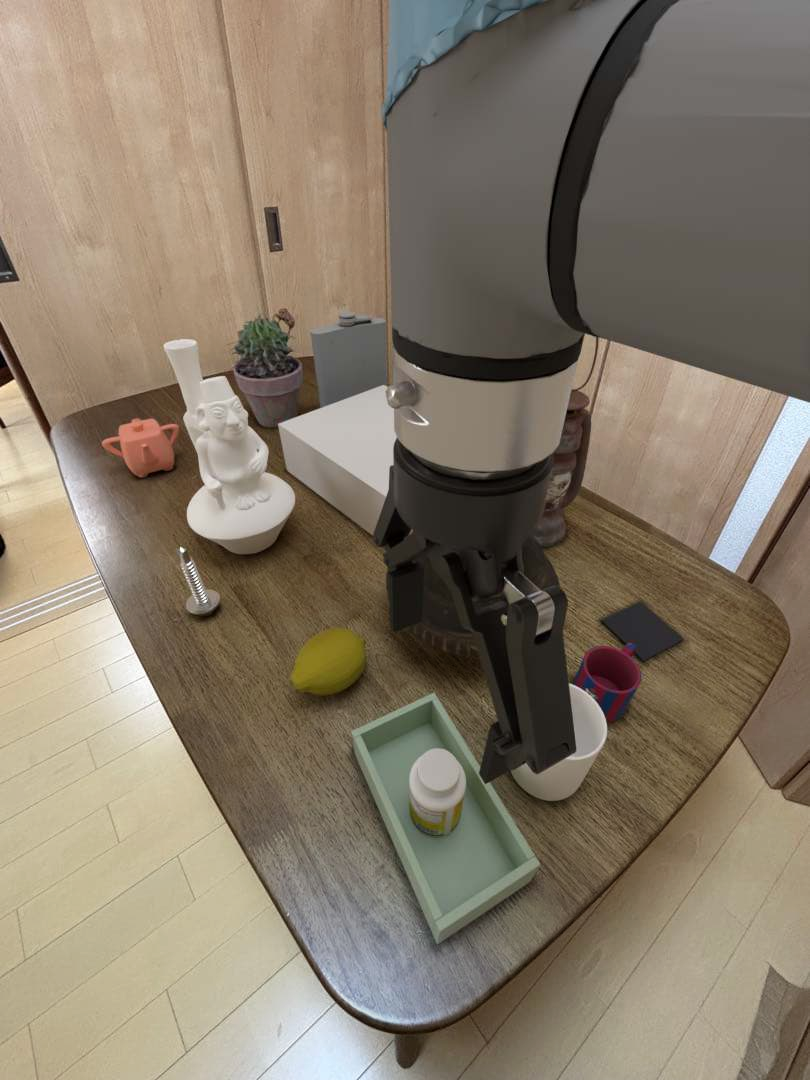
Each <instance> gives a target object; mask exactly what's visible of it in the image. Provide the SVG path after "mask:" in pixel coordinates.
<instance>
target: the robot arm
mask: <svg viewBox="0 0 810 1080" xmlns="http://www.w3.org/2000/svg"><path fill="white" fill-rule="evenodd" d="M387 29H388V34H387V62H386V63H387V64H386V65H387V66H386V70H387V71H386V90H385V102H384V103H382V110H381V116H382V125H383V126H384V130H385V132H386V147H387V149H386V151H387V152H386V154H387V188H388V189H387V192H388V196H387V197H388V230H389V234H388V235H389V236H388V237H389V269H390V270H389V272H390V273H389V274H390V308H391V309H390V311H391V313H390V314H391V316H390V317H391V339H392V341H391V342H392V384H391V385H387V387H388V388H387V390H386V398H387V403H388V405H389V406H390V407H392V408H394V431H395V433H396V436H397V438H396V440H395V443H394V447H393V465H392V466H390V469H389V490H388V493H387V496H386V499H385V502H384V504H383V507H382V510H381V513H380V516H379V519H378V522H377V525H376V528H375V530H374V533H373V535H372V540H373V543H374V544H375V546H376V547H377V548H383V549H384V551H385V552H384V553H383V554H382V556H383V563H384V565H385V566H386V568H387V569H388V568H389V572H388V582H389V599H388V610H389V611H388V612H389V627H390V629H391V631H392V633H397V632H399V631H402V630H404V629H406V628H407V627H409V626H412V625H414V624H417V623H419V622H422V612H423V587H424V566H423V565H422V564H421V562H420V561H419V562H416V563H413V564H412V560H414V559H417V558H420V557H423V556H425V555H426V554H428V557H429V559H430V561H431V567H432V568H433V569H434V571H435V572H436V573H437V575H439V576H440V577H441V578H442V579H443V581H444V583H445V584H446V585H447V586H448V588H449V589H450V591H451V593H452V597H453V600H454V603H455V607H456V610H457V613H458V617H459V620H460V623H461V625H462V627H464V628H465V629H469V630H471V632H472V634H473V637H474V641H475V644H476V647H477V651H478V654H479V658H478V659H480V664H481V668H482V671H483V674H484V677H485V680H486V684H487V687H488V691H489V695H490V697H491V701H492V705H493V708H494V711H495V715H496V718H497V721H495V722H493V723H492V724H490V726H489V731H488V734H487V738H486V742H485V746H484V751H483V755H482V759H481V763H480V771H479V775H480V776H481V778H482V780H483V781H484V783H485V784H487V783H489V782H490V783H491V782H492V781H494V780H496V779H498V778H499V777H501V776H503V775H504V774H507V773H508V772H511V771H512V770H515V769H516V768H518V767H520V766H522V765H524V764H525V763H527V765H528V767H529V768H530V769H531V770H532V772H534V773H535V774H540V773H541V772H543V771H545V770H546V769H548V768H550V767H552V766H553V765H555V764H557V763H558V762H560V761H562V760H564V759H565V758H567V757H569V756H571V755H572V754H574V753H575V752H576V741H575V732H574V724H573V715H572V707H571V698H570V690H569V683H570V682H569V674H568V666H567V665H568V664H567V657H566V656H567V655H566V648H565V641H564V640H565V639H564V626H565V622H566V617H567V611H568V607H569V600H568V596H567V594H566V592H565V590H564V589H563V588H560V587H561V586H560V587H559V586H556V585H553V586H551V587H549V588H546V589H544V590H540V589H539V588H538V587H537V586H535V585H534V584H533V583H532V582H531V581H530V580H529V579H528V578H526V577H525V576H524V575H523V574H524V567H523V561H522V546H523V544H524V542H525V540H526V539H527V537H528V536H529V534H530V533H531V531H532V530H533V528H534V527H535V526H536V524H537V522H538V521H539V519H540V517H541V514H542V511H543V507H544V502H545V498H546V494H547V493H548V491H547V490H548V489H549V486H550V485H549V483H550V481H551V480H550V479H551V478H552V476H551V474H552V469H553V465H554V453H553V452H554V451H555V449H556V448H557V447H558V445H559V443H560V438H561V434H562V429H563V425H564V421H565V416H566V412H567V407H568V403H569V398H570V394H571V389H573V386H574V385H573V384H574V380H575V375H576V371H577V366H578V362H579V359H580V356H581V354H582V350H583V349H582V348H583V343H584V340H585V335H589V336H591V337H593V338H594V337H595V338H596V337H598V339H604V340H606V341H607V340H608V341H611V342H614V343H617V344H620V345H623V346H626V347H630V348H633V349H636V350H640V351H642V352H645V353H649V354H652V355H656V356H659V357H661V358H665V359H668V360H671V361H675V362H678V363H681V364H684V365H687V366H691V367H693V368H696V369H700V370H704V371H707V372H709V373H713V374H716V375H719V376H723V377H726V378H729V379H732V380H734V381H735V380H736V381H738V382H742V383H745V384H748V385H752V386H754V387H757V388H761V389H764V390H766V391H767V390H768V391H771V392H774V393H777V394H781V395H784V396H787V397H790V398H793V399H795V400H796V399H797V400H800V401H802V402H806V403H808V404H810V0H389V3H388V28H387ZM411 529H412V530H413V533H411V534H410V535H409V533H410V531H411ZM500 592H501V594H502V599H501V601H499V602H497V603H495V604H493V605H490V606H488V607H485V608H483V609H481V610H478V611H475V607H474V604H473V602H476V601H479V600H482V599H484V598H487V597H490V596H493V595H496V594H499V593H500Z"/></svg>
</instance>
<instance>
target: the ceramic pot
mask: <svg viewBox="0 0 810 1080" xmlns="http://www.w3.org/2000/svg"><path fill="white" fill-rule="evenodd" d="M545 505H546V501H545V502H544V507H543V511H542V514H541V517H540V519H539V521H538V522H537V524H538V523H539V522H541V520H542V516H543V513H544V509H545ZM419 561H420V562H421V564H422V565H423V566H424V587H423V612H422V622H419V623H417V624H414V625H412V626H409V627H407V628H405V629H406V630H407V631H408V632H409V634H410V635H412V636H413V637H415V638H417V639H418V640H419V641H420V642H422V643H424V644H426V645H427V646H429V647H430V646H431V647H433V648H436V649H438V650H441V651H443V652H447V653H450V654H455V655H459V656H461V657H465V658H472V659H477V658H478V659H480V658H479V654H478V651H477V647H476V644H475V641H474V637H473V634H472V632H471V630H469V629H465V628H464V627H462V625H461V623H460V620H459V617H458V613H457V610H456V607H455V603H454V600H453V597H452V593H451V591H450V589H449V588H448V586H447V585H446V584H445V583H444V581H443V579H442V578H441V577H440V576H439V575H437V573H436V572H435V571H434V569H433V568H432V567H431V561H430V559H429V557H428V554H426V555H425V556H423V557H420V558H417V559H414V560H412V564H413V563H416V562H419ZM522 561H523V567H524V574H523V575H524V576H525V577H526V578H528V579H529V580H530V581H531V582H532V583H533V584H534V585H535V586H537V587H538V588H539V589H540V590H544V589H546V588H549V587H551V586H553V585H556V586H559V587H560V588H561V584H560V581H559V576H558V574H557V573H556V570H555V568H554V565H553V564H552V562H551V561H550V559H549V558H548V556H547V555H546V553H545V551H544V550H543V547H542V548H541V546H540V544H539V543H538V541H537V540H536V539H535V538H534V537H533V536H532V535H531V534H529V536H528V537H527V539H526V540H525V542H524V544H523V546H522ZM388 572H389V568H388V567H387V569H386V572H385V590H386V595H387V600H389V582H388ZM561 589H562V588H561ZM501 599H502V594H501V592H500V593H499V594H496V595H493V596H490V597H487V598H484V599H482V600H479V601H476V602H473V604H474V607H475V611H478V610H481V609H483V608H485V607H488V606H490V605H493V604H495V603H497V602H499V601H501Z"/></svg>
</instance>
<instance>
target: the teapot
mask: <svg viewBox="0 0 810 1080" xmlns="http://www.w3.org/2000/svg"><path fill="white" fill-rule="evenodd" d="M167 430H171V436H170V438H169V437H168V436H167V434H166V432H165V431H167ZM179 434H180V427H179V425H178V424H177V423H168V424H165V425H160V424H159V422H158V421H157V419H155V418H146V419H141V418H133V419H132V420H131V422H128V423H124V424H121V425H119V427H118V436H112V437H108V438H106V439H104V440H102V441H101V445H102V447H103V448H104V449H105V450H106V451H107V452H109V453H112V454H113V455H116V456H118V457H121V458H123V460H124V462H125V465H126V466H127V467H128V469H129V470H130V471H131V472H132V473H133V474H134V475H135V476H137V477H138V478H145V477H148V476H149V473H150V474H151V473H155V472H159V471H162V470H163V471H164V472H166V471H167V472H168V471H171V470H173V468H174V465H175V453H174V448H173V445H174V443H175V442H176V439H177V438H178V436H179ZM115 442H119V446H120V450H119V449H117V448H115V447H114V446H113V445H112V444H114V443H115Z"/></svg>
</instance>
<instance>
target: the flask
mask: <svg viewBox="0 0 810 1080" xmlns="http://www.w3.org/2000/svg"><path fill="white" fill-rule="evenodd" d="M337 317H338V321H339V322H338V323H332V324H328V325H323V326H319V327H315V328H311V329H310V330H309V331H310V340H311V346H312V355H313V362H314V371H315V378H316V385H317V395H318V401H319V402H318V403H319V409H320V408H322V407H325V406H328V405H330V404H333V403H336V402H339V401H341V400H344V399H347V398H349V397H352V396H355V395H358V394H360V393H363V392H366V391H368V390H371V389H374V388H377V387H379V386H382V385H385V386H387V387H388V359H387V357H388V355H387V352H388V351H387V322H386V319H384V318H381V317H372V316H371V315H370V314H361V315H360V314H359V315H356V312H355V311H352V310H343V311H339V312H338V313H337Z"/></svg>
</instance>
